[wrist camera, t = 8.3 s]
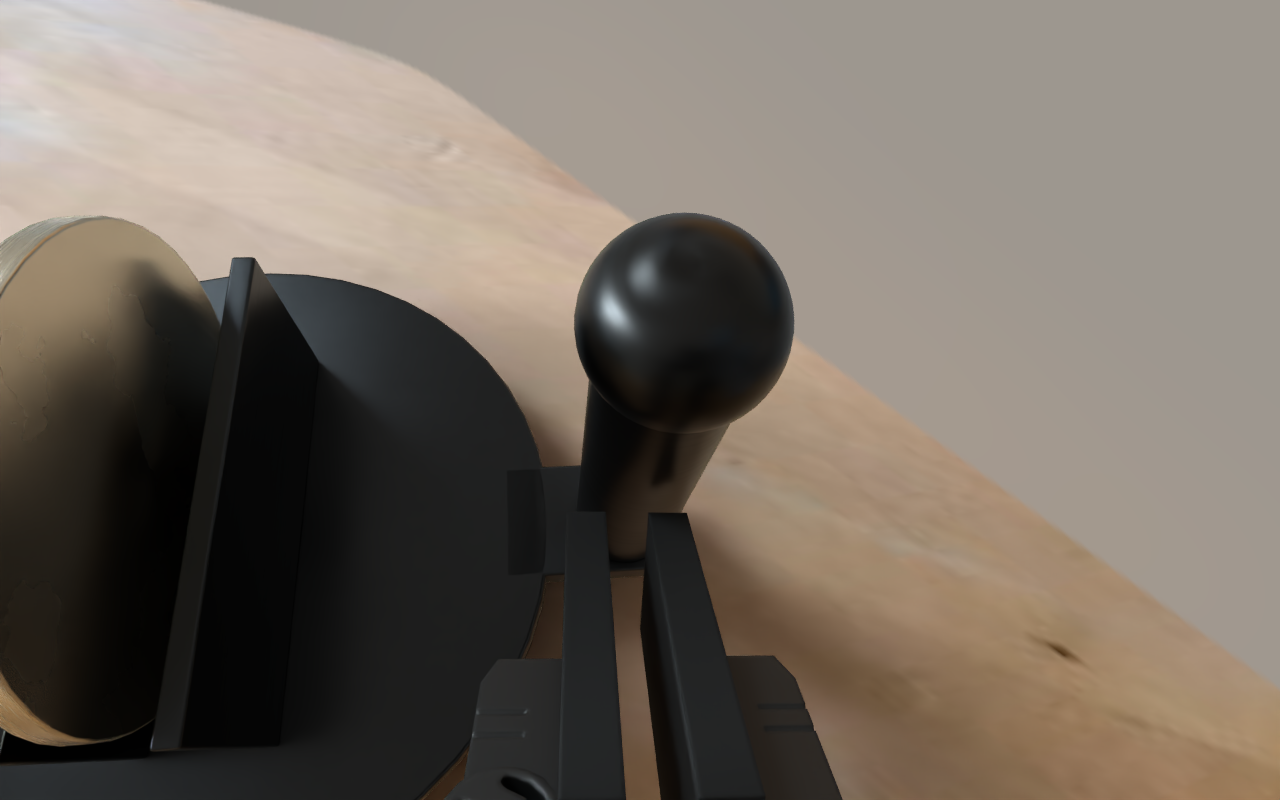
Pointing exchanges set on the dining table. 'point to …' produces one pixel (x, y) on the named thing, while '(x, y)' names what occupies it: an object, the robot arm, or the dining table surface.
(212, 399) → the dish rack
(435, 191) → the dining table surface
